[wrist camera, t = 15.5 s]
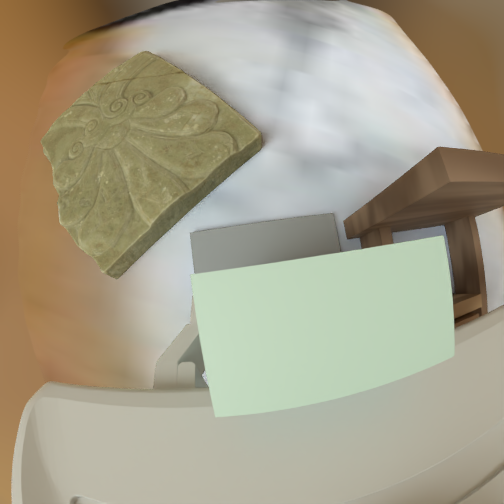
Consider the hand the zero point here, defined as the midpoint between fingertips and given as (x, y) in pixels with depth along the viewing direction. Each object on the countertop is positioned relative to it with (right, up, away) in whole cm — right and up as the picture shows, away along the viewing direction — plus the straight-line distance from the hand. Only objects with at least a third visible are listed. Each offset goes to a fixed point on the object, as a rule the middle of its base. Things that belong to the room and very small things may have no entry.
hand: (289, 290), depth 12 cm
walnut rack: (+14, -2, +10) cm, 18 cm away
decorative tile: (-14, +12, +13) cm, 23 cm away
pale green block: (0, -2, +9) cm, 9 cm away
